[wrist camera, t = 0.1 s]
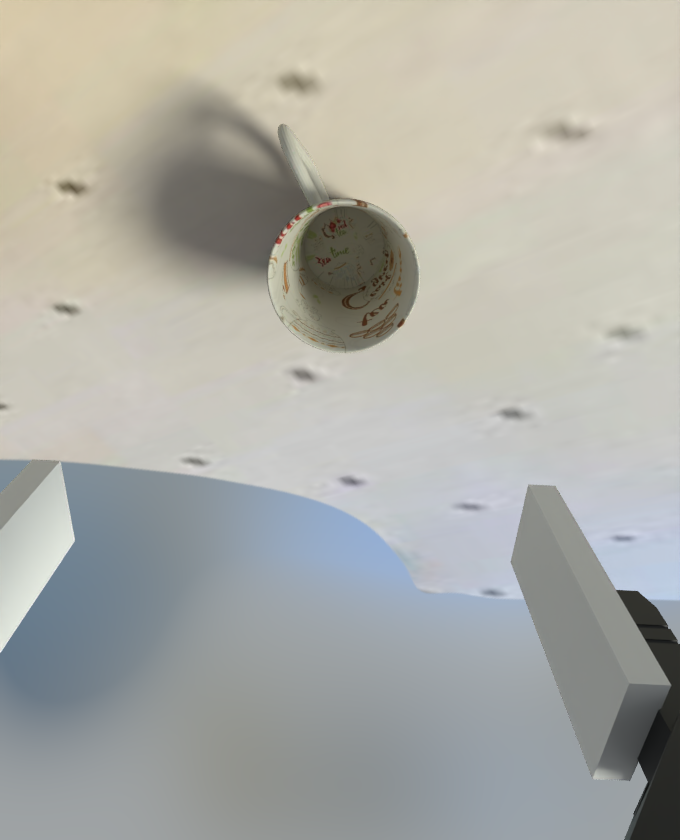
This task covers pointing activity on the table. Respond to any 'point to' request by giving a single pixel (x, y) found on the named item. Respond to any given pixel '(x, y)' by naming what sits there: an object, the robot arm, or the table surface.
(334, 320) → the mug
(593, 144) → the table surface
